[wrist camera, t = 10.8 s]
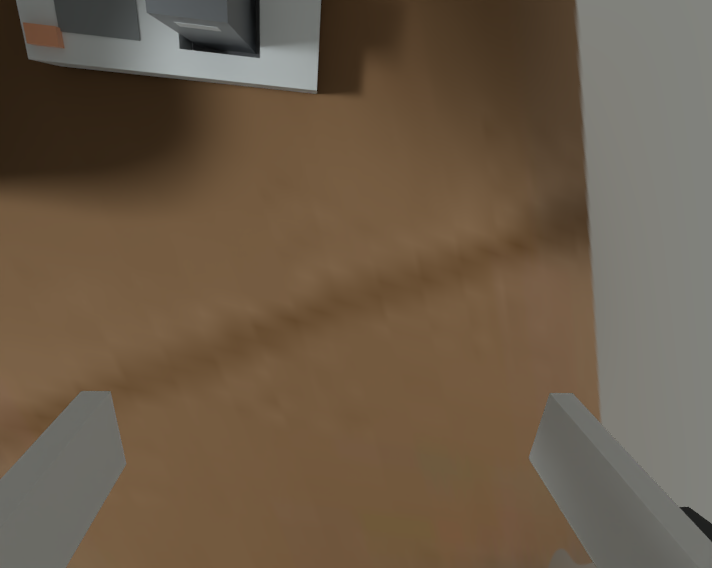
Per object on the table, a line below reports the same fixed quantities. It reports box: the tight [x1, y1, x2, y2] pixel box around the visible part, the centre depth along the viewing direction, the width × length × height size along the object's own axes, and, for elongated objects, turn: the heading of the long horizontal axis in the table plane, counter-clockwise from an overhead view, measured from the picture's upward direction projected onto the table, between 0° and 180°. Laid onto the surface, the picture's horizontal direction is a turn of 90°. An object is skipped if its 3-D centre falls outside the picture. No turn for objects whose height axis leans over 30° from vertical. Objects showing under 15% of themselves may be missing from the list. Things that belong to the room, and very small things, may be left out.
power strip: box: [16, 0, 321, 94], centre depth 27 cm, size 20×9×4 cm, turn 85°
